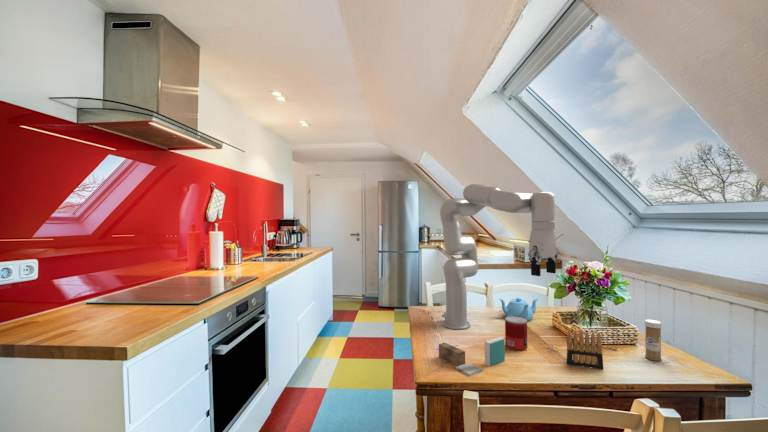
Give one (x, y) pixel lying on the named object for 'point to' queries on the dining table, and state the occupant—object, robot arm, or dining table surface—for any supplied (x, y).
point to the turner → (457, 359)
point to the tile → (494, 351)
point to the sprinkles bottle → (653, 340)
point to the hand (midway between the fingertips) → (543, 274)
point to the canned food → (516, 333)
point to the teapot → (519, 308)
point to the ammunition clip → (591, 350)
